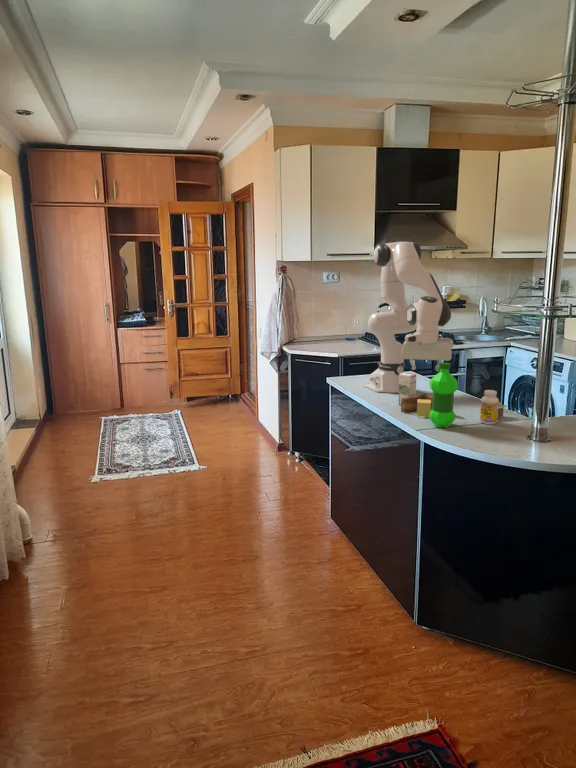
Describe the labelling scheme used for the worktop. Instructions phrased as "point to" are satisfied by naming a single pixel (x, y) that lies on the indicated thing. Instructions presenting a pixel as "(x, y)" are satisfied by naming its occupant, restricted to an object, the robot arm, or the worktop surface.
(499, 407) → the platform
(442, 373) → the plastic bottle
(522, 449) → the worktop surface
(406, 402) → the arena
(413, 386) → the syrup box
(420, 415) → the pad
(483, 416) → the supplement bottle
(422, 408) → the block
